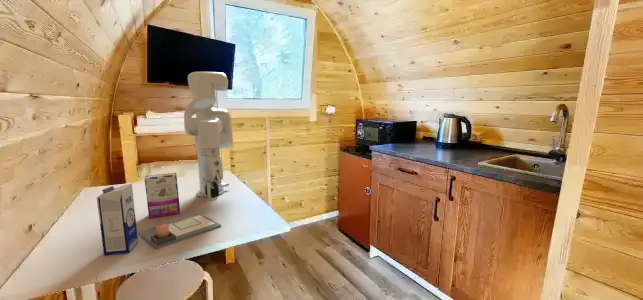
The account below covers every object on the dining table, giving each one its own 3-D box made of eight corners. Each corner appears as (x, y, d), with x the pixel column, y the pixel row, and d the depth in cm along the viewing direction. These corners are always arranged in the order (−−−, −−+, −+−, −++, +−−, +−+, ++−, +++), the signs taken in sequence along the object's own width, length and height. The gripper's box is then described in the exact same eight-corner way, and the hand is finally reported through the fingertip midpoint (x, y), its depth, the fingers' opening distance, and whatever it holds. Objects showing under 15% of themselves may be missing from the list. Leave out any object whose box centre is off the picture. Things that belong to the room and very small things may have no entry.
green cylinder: (214, 197, 120) (213, 174, 118) (219, 199, 118) (217, 176, 116) (205, 199, 118) (204, 175, 116) (210, 202, 115) (208, 178, 113)
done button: (166, 231, 97) (165, 223, 96) (171, 234, 94) (170, 226, 94) (154, 235, 94) (154, 226, 94) (159, 238, 92) (158, 229, 91)
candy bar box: (179, 209, 122) (176, 172, 120) (180, 213, 118) (177, 174, 115) (149, 214, 117) (145, 175, 115) (148, 218, 113) (144, 177, 110)
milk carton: (129, 253, 87) (121, 189, 84) (103, 255, 86) (95, 190, 82) (138, 242, 94) (132, 182, 91) (115, 244, 93) (107, 183, 89)
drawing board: (200, 215, 116) (200, 210, 116) (221, 226, 106) (220, 221, 106) (138, 233, 100) (138, 228, 100) (156, 248, 90) (155, 243, 89)
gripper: (229, 153, 111) (231, 198, 115) (208, 147, 122) (210, 188, 126) (211, 156, 105) (214, 204, 109) (190, 149, 116) (193, 192, 120)
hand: (212, 195), depth 117 cm, fingers closed on green cylinder, 3 cm apart
